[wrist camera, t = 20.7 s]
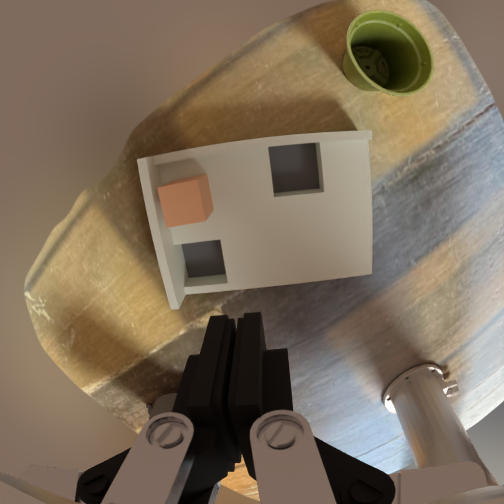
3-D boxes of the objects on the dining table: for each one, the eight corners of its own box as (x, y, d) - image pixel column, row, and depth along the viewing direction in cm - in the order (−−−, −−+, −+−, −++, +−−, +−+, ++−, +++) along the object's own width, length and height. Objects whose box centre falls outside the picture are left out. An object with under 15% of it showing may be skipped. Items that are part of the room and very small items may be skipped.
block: (207, 173, 32) (197, 179, 27) (213, 209, 33) (205, 221, 28) (172, 180, 32) (157, 187, 27) (179, 215, 33) (166, 227, 29)
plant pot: (339, 109, 31) (363, 100, 23) (318, 37, 28) (334, 10, 20) (407, 101, 30) (444, 94, 22) (387, 33, 27) (417, 11, 19)
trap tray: (358, 131, 32) (378, 130, 26) (364, 264, 38) (381, 287, 32) (157, 155, 34) (136, 159, 28) (183, 284, 40) (170, 309, 34)
